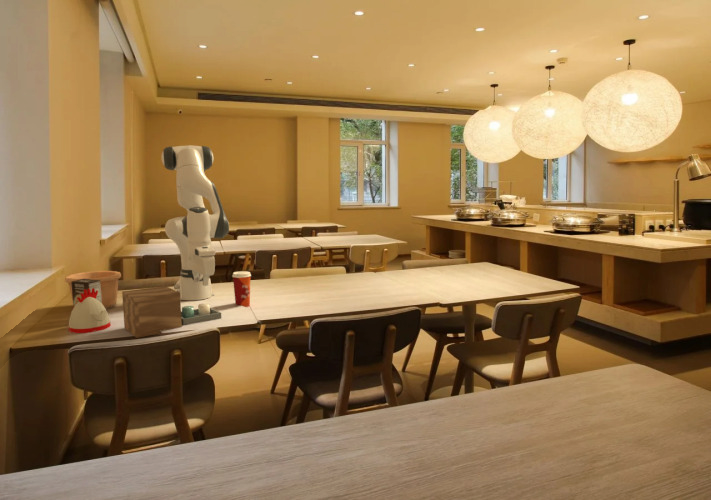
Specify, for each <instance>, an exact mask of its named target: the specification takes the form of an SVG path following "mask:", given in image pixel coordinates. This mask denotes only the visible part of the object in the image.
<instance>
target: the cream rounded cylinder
mask: <svg viewBox="0 0 711 500" xmlns="http://www.w3.org/2000/svg"><path fill="white" fill-rule="evenodd" d="M197 306H198V308H197V309H198V312H199V316H202V315H208V314H210V308H211V305H210V303H200V304H198V305H197Z"/></svg>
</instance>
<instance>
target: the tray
mask: <svg viewBox="0 0 711 500" xmlns="http://www.w3.org/2000/svg"><path fill="white" fill-rule="evenodd" d="M219 319H222V312H220V311H218V310H216V309H214V308H213V307H210V314H208V315H202V316H199V312H198V308H194V317H191V318H183V317H182V311H181V323H182V326H186V325H193V324H197V323H202V322H208V321H209V322H210V321H215V320H219Z"/></svg>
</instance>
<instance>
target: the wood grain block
mask: <svg viewBox="0 0 711 500" xmlns="http://www.w3.org/2000/svg"><path fill="white" fill-rule="evenodd" d="M121 294H122V295H121V297H122V310H123V322H124V324H123V325H124V327H123V328H124V330H126V331H127V332H129V333H130V334H131V335H132V336H134V337H135V338H137V339H138V338H144V337H149V336H153V335H160V334H163V332H162V331H167V330H173V329H178V328H182V326H183V324H182V323H181V312H182V306H181V300H180V292H177V291H176V289H174V288H171V287H169V286H167V285H164V286H163V285H161V286H155V287H147V288H139V289H138V288H137V289H133V290H123V291H121Z"/></svg>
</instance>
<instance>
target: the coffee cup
mask: <svg viewBox="0 0 711 500" xmlns="http://www.w3.org/2000/svg"><path fill="white" fill-rule="evenodd" d="M231 277H232V281H233V292H234V301H235V305H236V306H241V307H244V308H248V307H250V305H251V302H250V301H251V277H252V274H251V272H250V271H242V270H241V271H234V272H232V275H231Z"/></svg>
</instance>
